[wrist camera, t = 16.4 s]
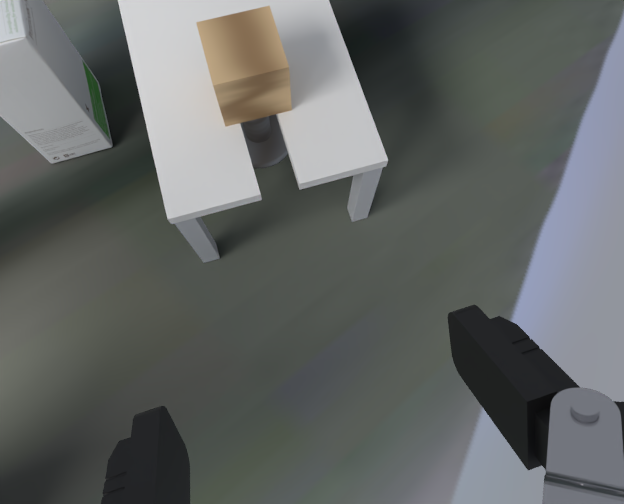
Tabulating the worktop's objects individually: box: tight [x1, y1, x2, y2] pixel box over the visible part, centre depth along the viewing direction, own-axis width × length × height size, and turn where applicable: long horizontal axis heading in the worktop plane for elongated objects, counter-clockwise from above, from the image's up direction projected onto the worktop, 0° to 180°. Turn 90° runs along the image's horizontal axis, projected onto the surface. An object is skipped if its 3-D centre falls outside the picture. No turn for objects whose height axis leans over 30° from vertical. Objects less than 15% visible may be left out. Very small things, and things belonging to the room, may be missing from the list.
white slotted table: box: [118, 0, 388, 263], centre depth 44 cm, size 16×20×12 cm
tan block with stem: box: [196, 6, 292, 168], centre depth 39 cm, size 6×6×12 cm
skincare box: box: [0, 0, 113, 163], centre depth 43 cm, size 8×7×16 cm
